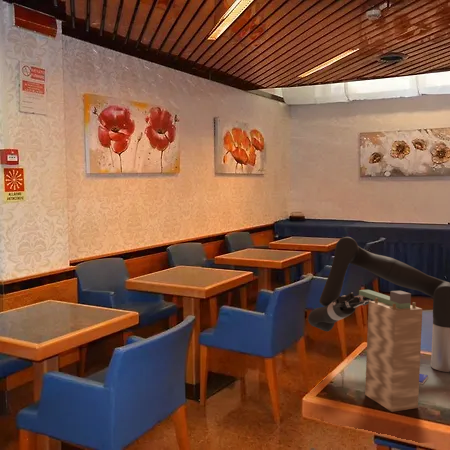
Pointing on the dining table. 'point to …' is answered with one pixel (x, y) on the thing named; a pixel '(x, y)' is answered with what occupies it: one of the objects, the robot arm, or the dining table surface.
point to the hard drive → (422, 378)
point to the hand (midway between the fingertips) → (363, 294)
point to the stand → (393, 355)
